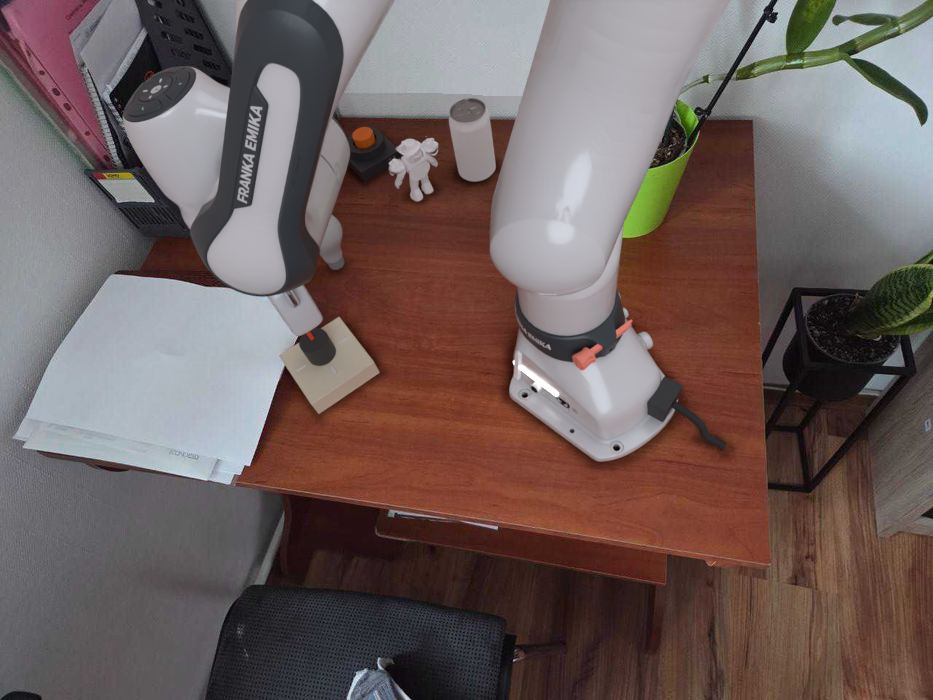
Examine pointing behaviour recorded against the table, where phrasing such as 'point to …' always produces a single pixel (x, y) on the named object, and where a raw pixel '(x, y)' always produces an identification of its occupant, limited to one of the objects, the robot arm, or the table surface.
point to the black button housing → (372, 156)
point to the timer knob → (317, 347)
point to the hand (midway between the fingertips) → (288, 301)
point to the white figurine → (415, 165)
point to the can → (472, 139)
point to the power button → (363, 137)
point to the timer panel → (331, 368)
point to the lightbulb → (332, 245)
